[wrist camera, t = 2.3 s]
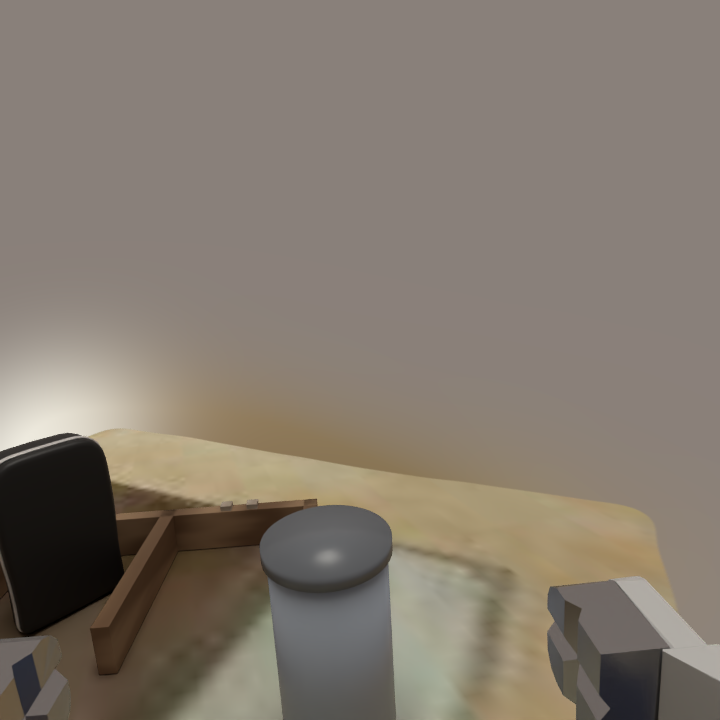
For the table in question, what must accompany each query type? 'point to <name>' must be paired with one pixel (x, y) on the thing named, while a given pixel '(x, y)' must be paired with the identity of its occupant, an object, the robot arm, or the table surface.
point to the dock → (169, 561)
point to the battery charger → (56, 528)
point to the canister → (331, 613)
